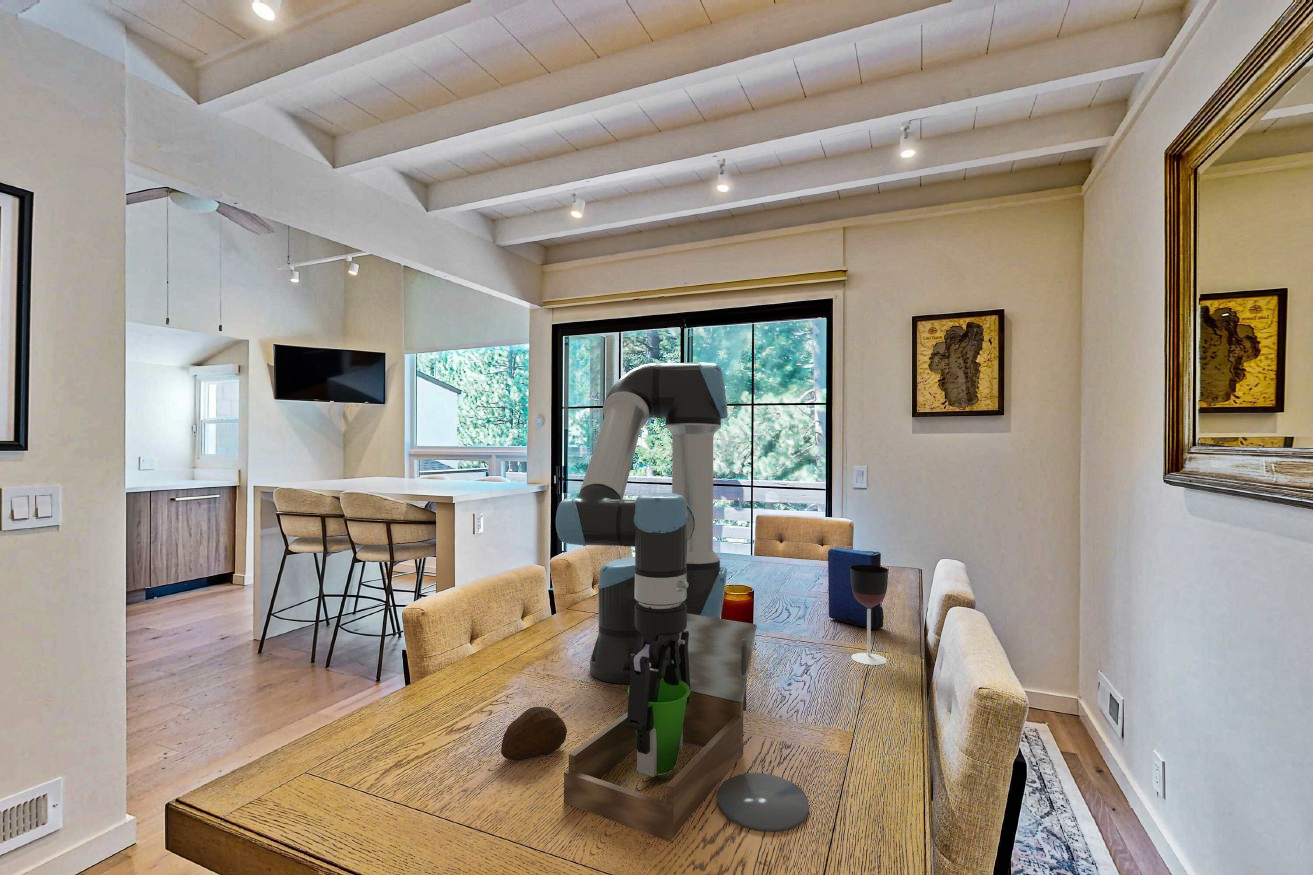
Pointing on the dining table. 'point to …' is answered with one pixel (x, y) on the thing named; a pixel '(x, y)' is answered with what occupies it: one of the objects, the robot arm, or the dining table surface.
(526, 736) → the potato
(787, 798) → the gray round coaster
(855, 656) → the wineglass
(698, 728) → the cold frame
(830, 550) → the book
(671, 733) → the cup
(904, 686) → the dining table surface
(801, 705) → the dining table surface
